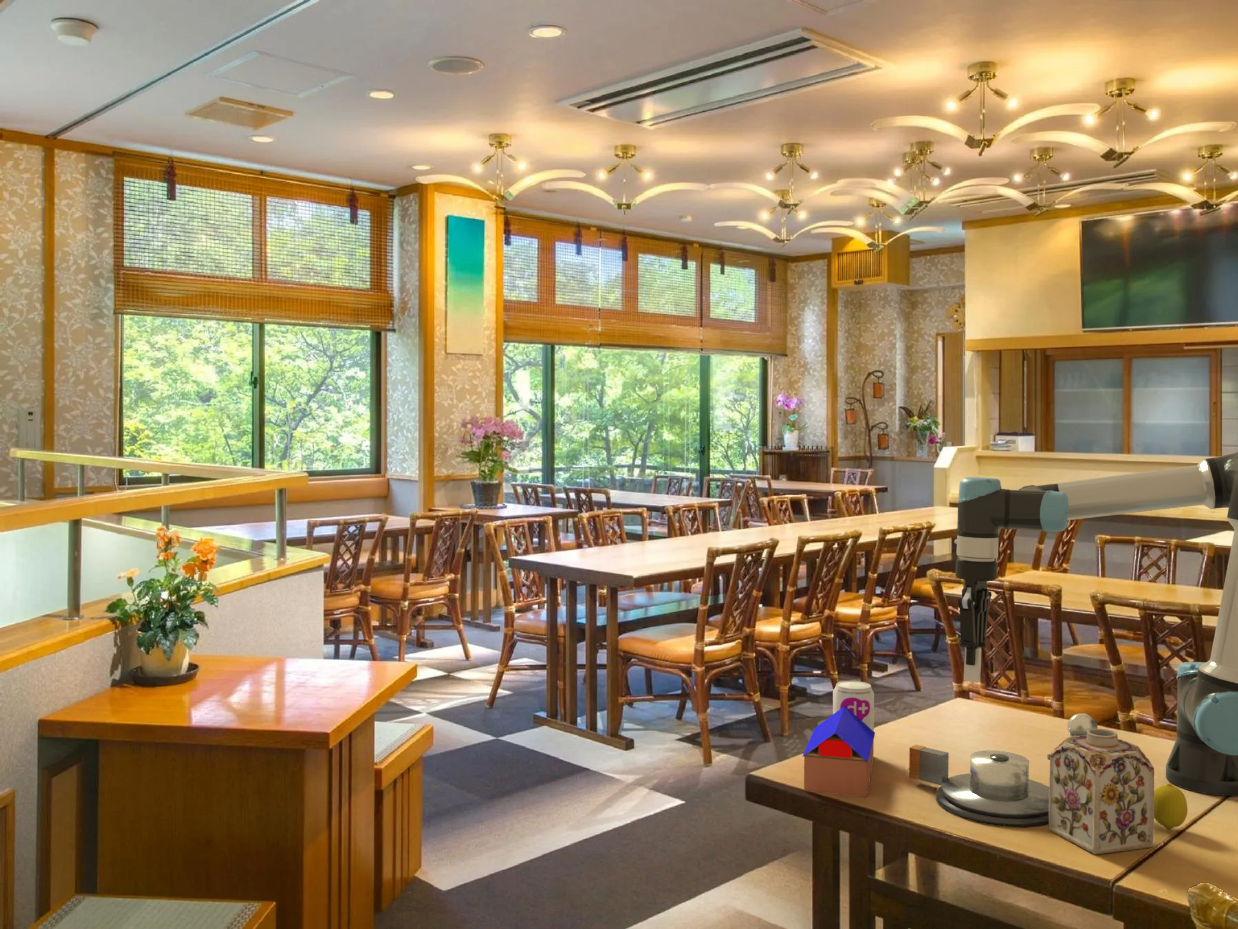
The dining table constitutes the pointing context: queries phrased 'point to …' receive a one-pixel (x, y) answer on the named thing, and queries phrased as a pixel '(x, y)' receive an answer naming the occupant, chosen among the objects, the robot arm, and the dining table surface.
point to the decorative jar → (1101, 793)
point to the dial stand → (1079, 725)
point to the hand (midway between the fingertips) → (971, 680)
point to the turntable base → (989, 818)
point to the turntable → (957, 788)
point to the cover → (999, 775)
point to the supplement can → (855, 700)
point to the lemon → (1169, 806)
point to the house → (839, 756)
